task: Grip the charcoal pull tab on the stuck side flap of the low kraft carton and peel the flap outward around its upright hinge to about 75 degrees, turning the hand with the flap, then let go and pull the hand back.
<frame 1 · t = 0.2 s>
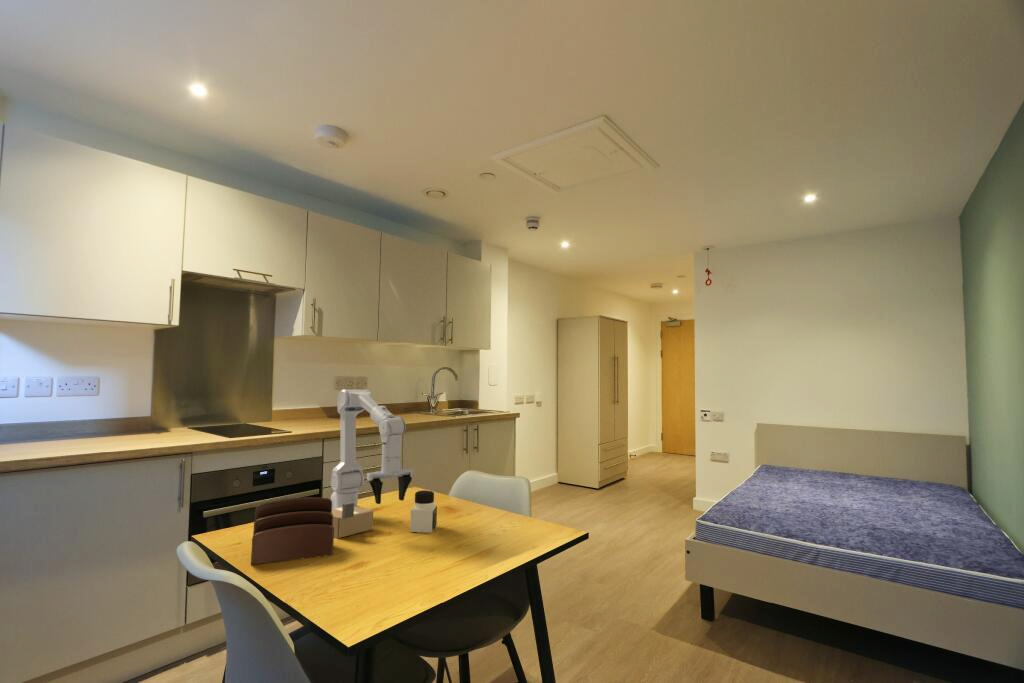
hand: (389, 501, 151), 10 cm above the table, tool pointing down, fingers open, 7 cm apart
letter holder: (292, 555, 133), on the table
carton: (346, 530, 154), on the table
medicine bottle: (423, 530, 156), on the table
side flap: (357, 517, 150), point 5 cm above the table, hinge at 0.0°
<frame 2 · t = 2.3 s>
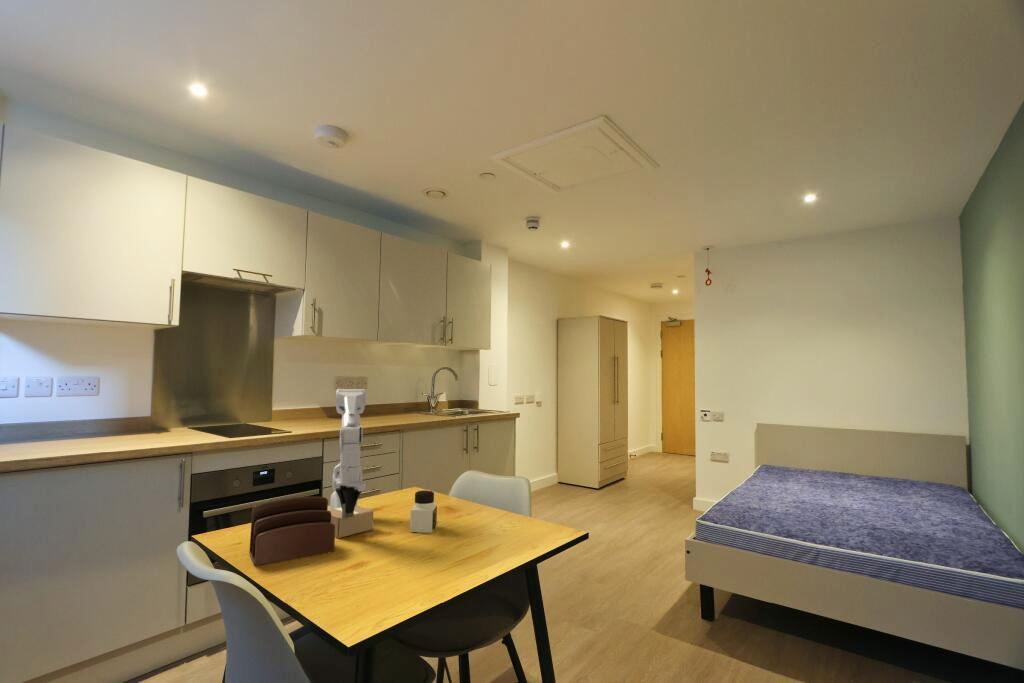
hand: (347, 512, 148), 7 cm above the table, tool pointing down, fingers closed on side flap
side flap: (357, 517, 150), point 5 cm above the table, hinge at 0.0°, touching gripper
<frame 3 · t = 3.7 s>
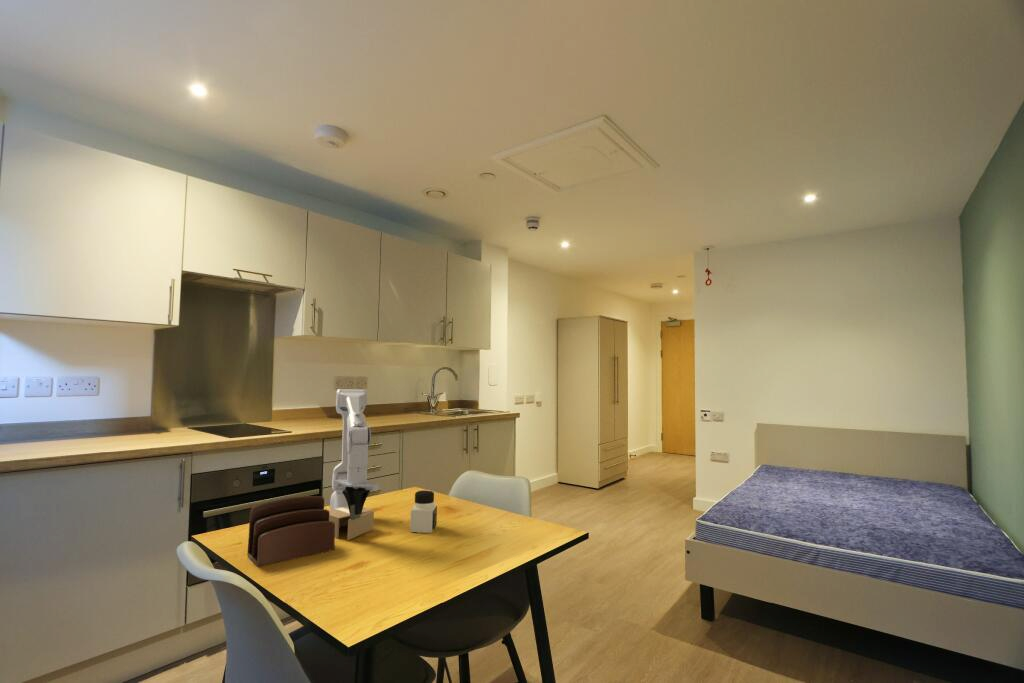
hand: (355, 513, 146), 7 cm above the table, tool pointing down, fingers closed on side flap, 2 cm apart
side flap: (362, 518, 150), point 5 cm above the table, hinge at 18.0°, touching gripper
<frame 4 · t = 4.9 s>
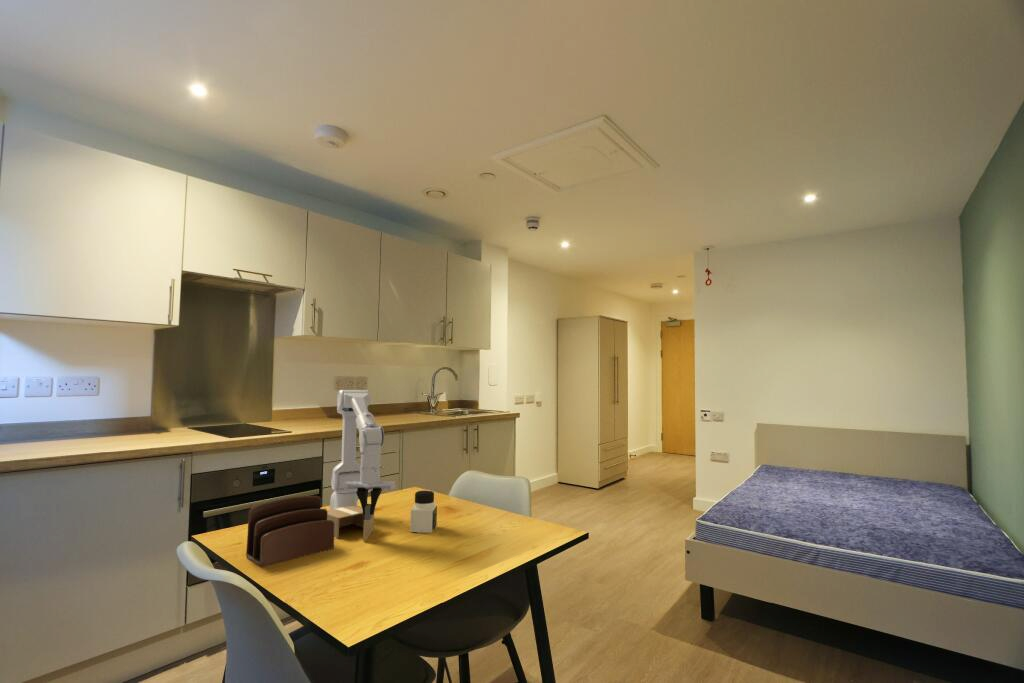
hand: (368, 513, 146), 7 cm above the table, tool pointing down, fingers closed on side flap, 2 cm apart
side flap: (371, 518, 149), point 5 cm above the table, hinge at 42.3°, touching gripper
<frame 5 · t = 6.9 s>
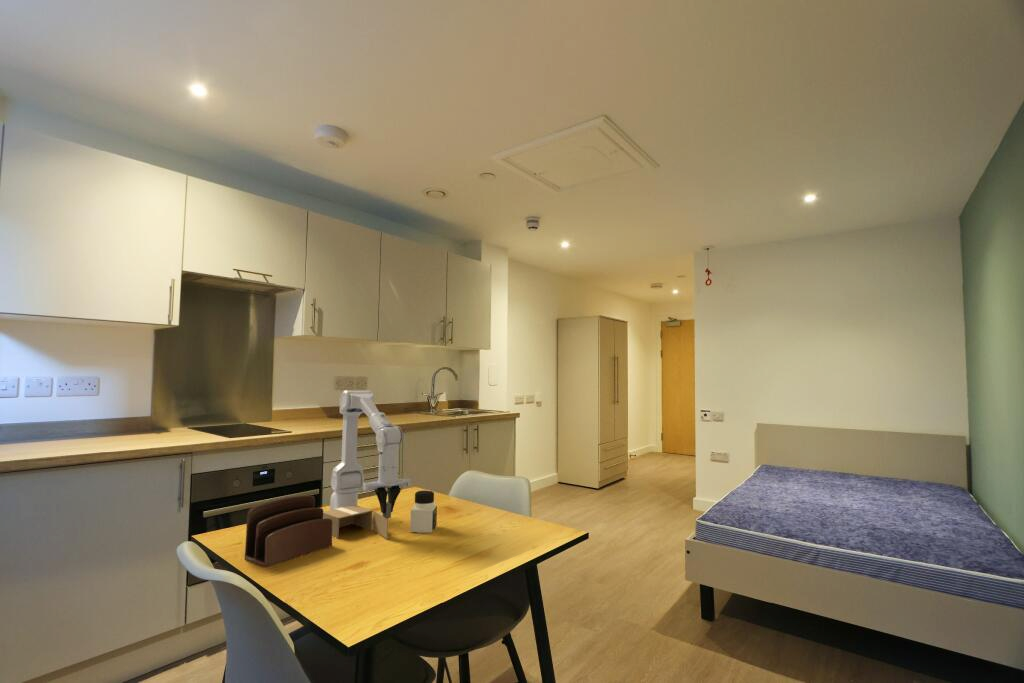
hand: (386, 512, 148), 7 cm above the table, tool pointing down, fingers closed on side flap
side flap: (382, 517, 151), point 5 cm above the table, hinge at 74.9°, touching gripper
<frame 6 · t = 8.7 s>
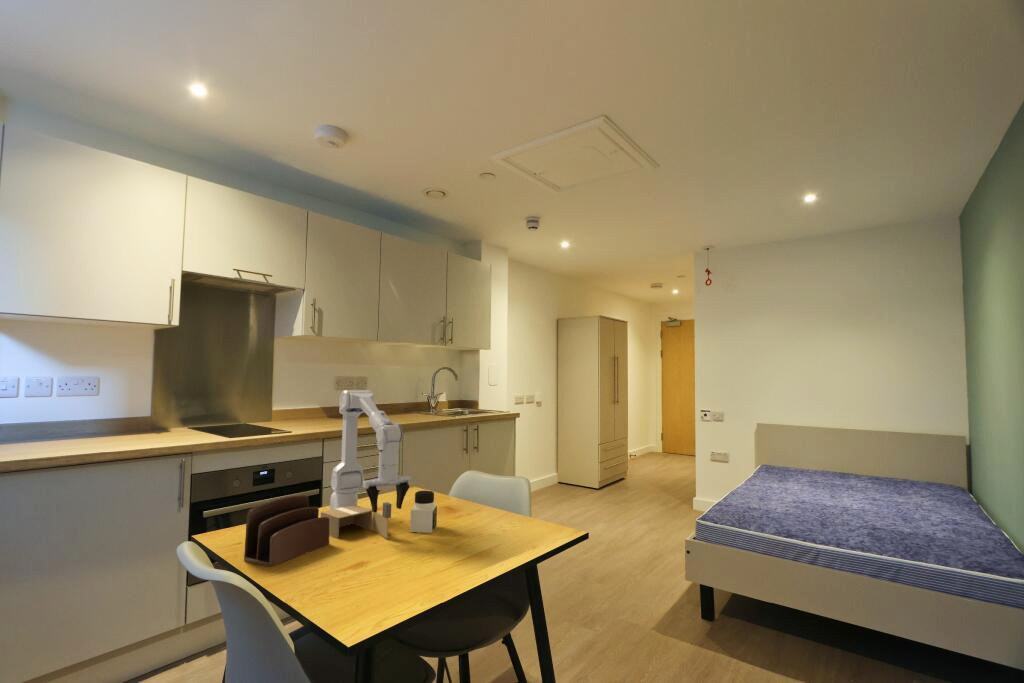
hand: (386, 509, 148), 8 cm above the table, tool pointing down, fingers open, 7 cm apart
side flap: (382, 517, 151), point 5 cm above the table, hinge at 75.0°
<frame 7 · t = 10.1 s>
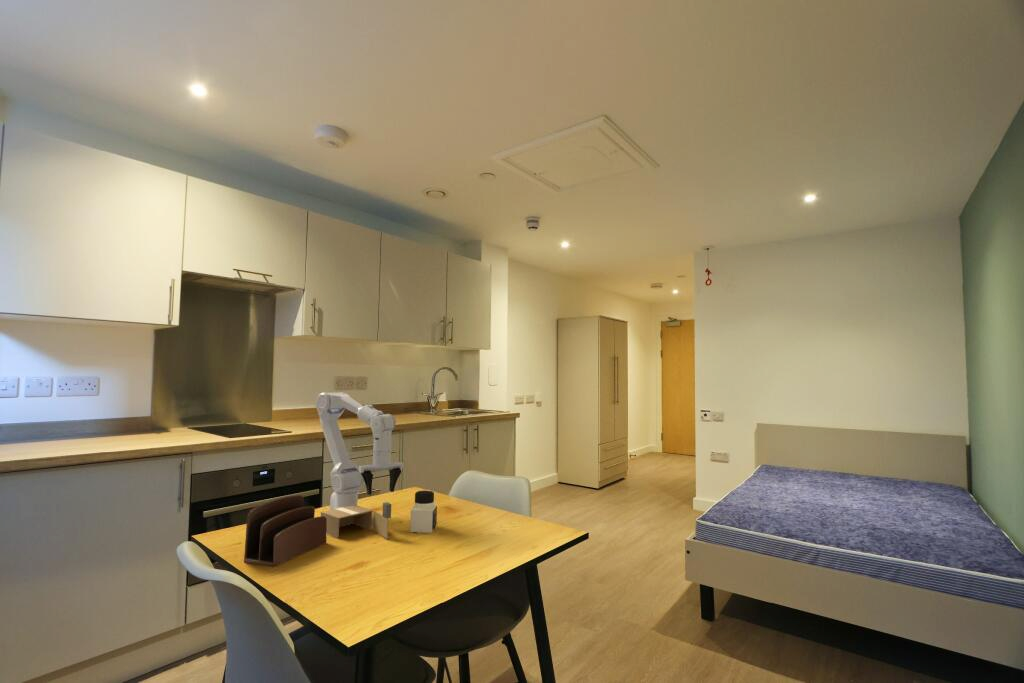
hand: (380, 492, 162), 10 cm above the table, tool pointing down, fingers open, 7 cm apart
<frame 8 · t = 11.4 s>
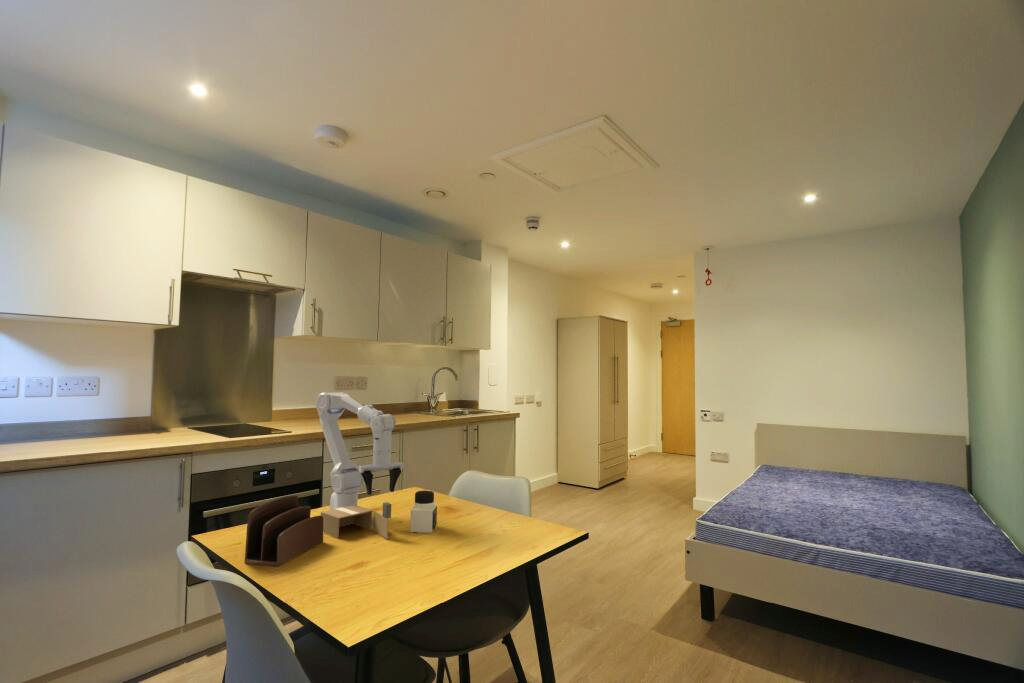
hand: (380, 492, 162), 10 cm above the table, tool pointing down, fingers open, 7 cm apart
at the end: side flap at +75° (first picture: +0°); the gripper is holding nothing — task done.
